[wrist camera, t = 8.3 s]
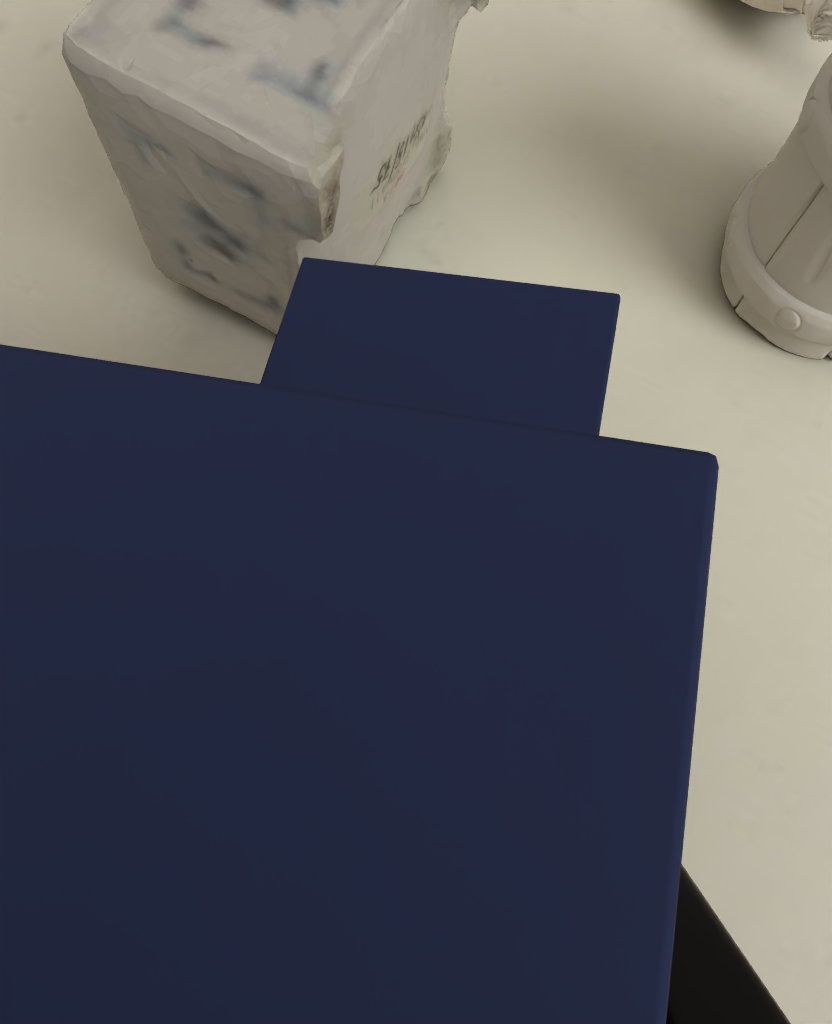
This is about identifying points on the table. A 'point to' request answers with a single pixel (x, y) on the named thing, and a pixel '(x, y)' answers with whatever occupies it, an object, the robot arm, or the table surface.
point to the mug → (788, 236)
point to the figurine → (824, 3)
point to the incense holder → (266, 129)
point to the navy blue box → (347, 672)
